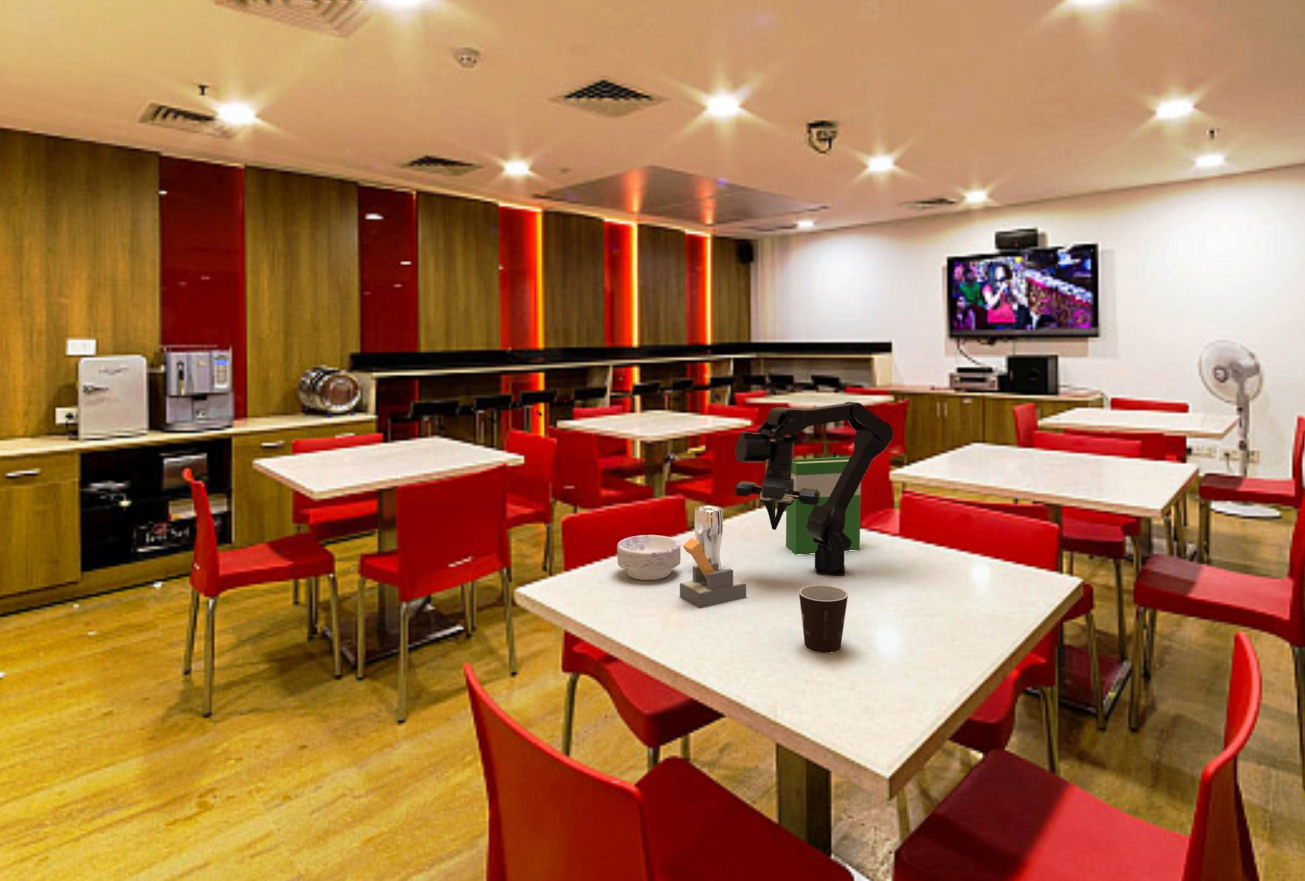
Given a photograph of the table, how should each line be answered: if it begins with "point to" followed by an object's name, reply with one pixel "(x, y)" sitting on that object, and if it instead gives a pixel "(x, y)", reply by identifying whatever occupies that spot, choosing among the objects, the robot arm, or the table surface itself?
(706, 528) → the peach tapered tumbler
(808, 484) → the hardback book
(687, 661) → the table surface
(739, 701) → the table surface
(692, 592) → the breaker block
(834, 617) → the coffee mug
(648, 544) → the paper bowls
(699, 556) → the breaker lever
